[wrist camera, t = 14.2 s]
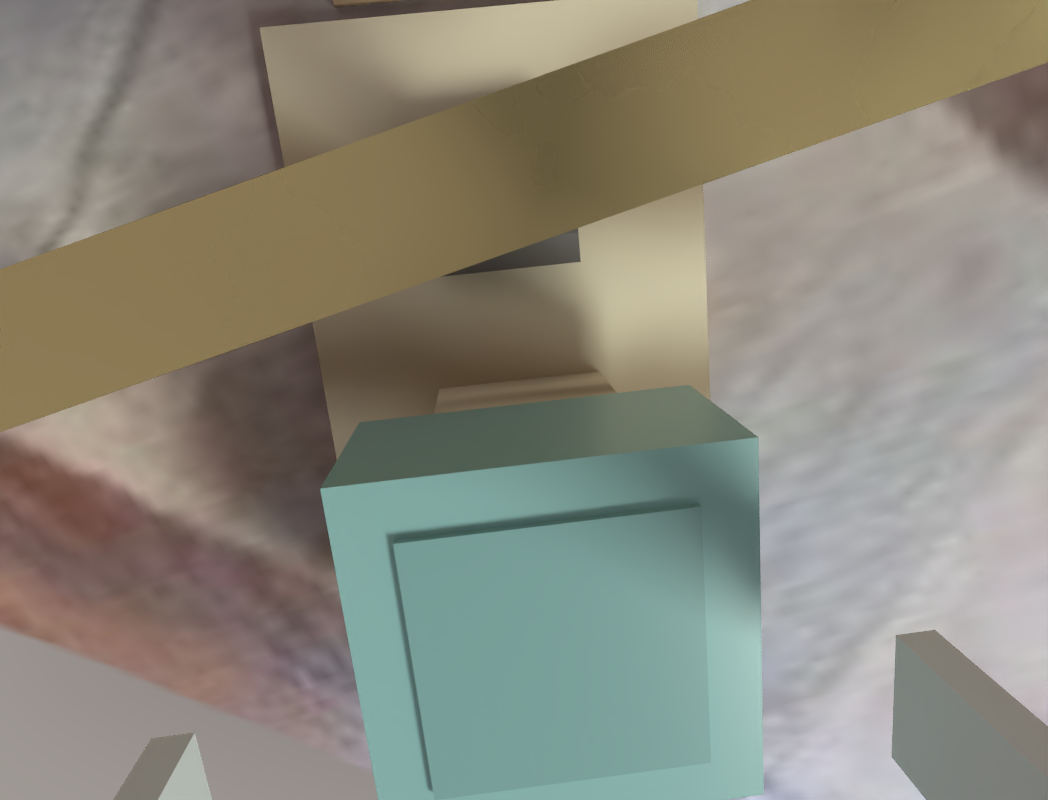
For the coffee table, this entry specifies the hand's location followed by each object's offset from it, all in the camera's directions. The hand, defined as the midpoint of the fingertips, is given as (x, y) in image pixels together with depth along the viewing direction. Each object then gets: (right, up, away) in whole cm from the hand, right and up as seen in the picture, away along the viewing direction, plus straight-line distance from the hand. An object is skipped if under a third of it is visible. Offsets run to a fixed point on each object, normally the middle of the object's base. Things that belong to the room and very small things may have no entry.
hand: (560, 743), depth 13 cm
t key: (-1, +13, +8) cm, 15 cm away
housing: (-1, +7, +9) cm, 12 cm away
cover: (0, +2, +7) cm, 7 cm away
